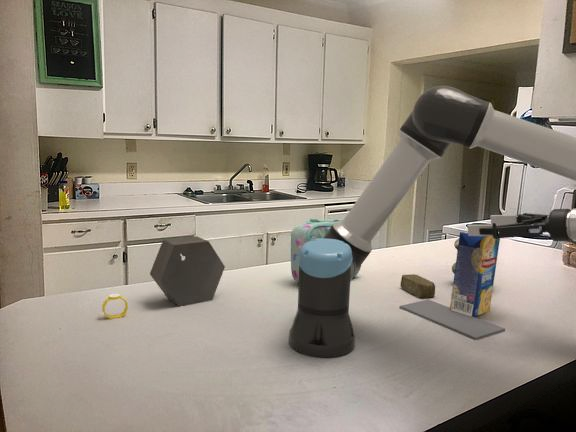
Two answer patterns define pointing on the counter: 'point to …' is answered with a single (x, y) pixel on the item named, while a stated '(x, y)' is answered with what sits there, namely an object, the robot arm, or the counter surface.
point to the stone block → (418, 286)
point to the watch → (113, 297)
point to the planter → (187, 270)
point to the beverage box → (474, 274)
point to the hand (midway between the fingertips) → (480, 225)
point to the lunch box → (308, 239)
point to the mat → (453, 319)
